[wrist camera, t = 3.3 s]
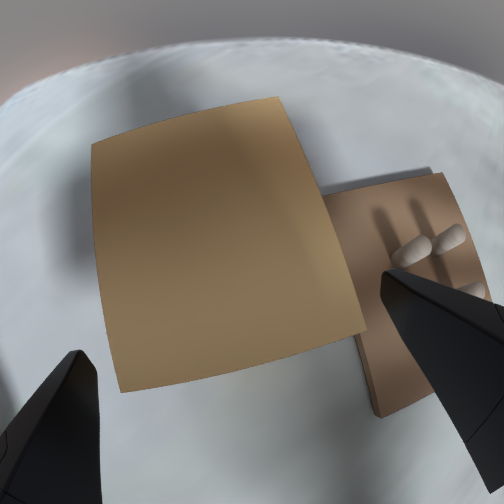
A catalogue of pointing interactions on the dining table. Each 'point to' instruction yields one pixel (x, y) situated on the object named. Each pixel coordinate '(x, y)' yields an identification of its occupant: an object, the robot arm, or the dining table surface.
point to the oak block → (214, 247)
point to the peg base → (404, 258)
